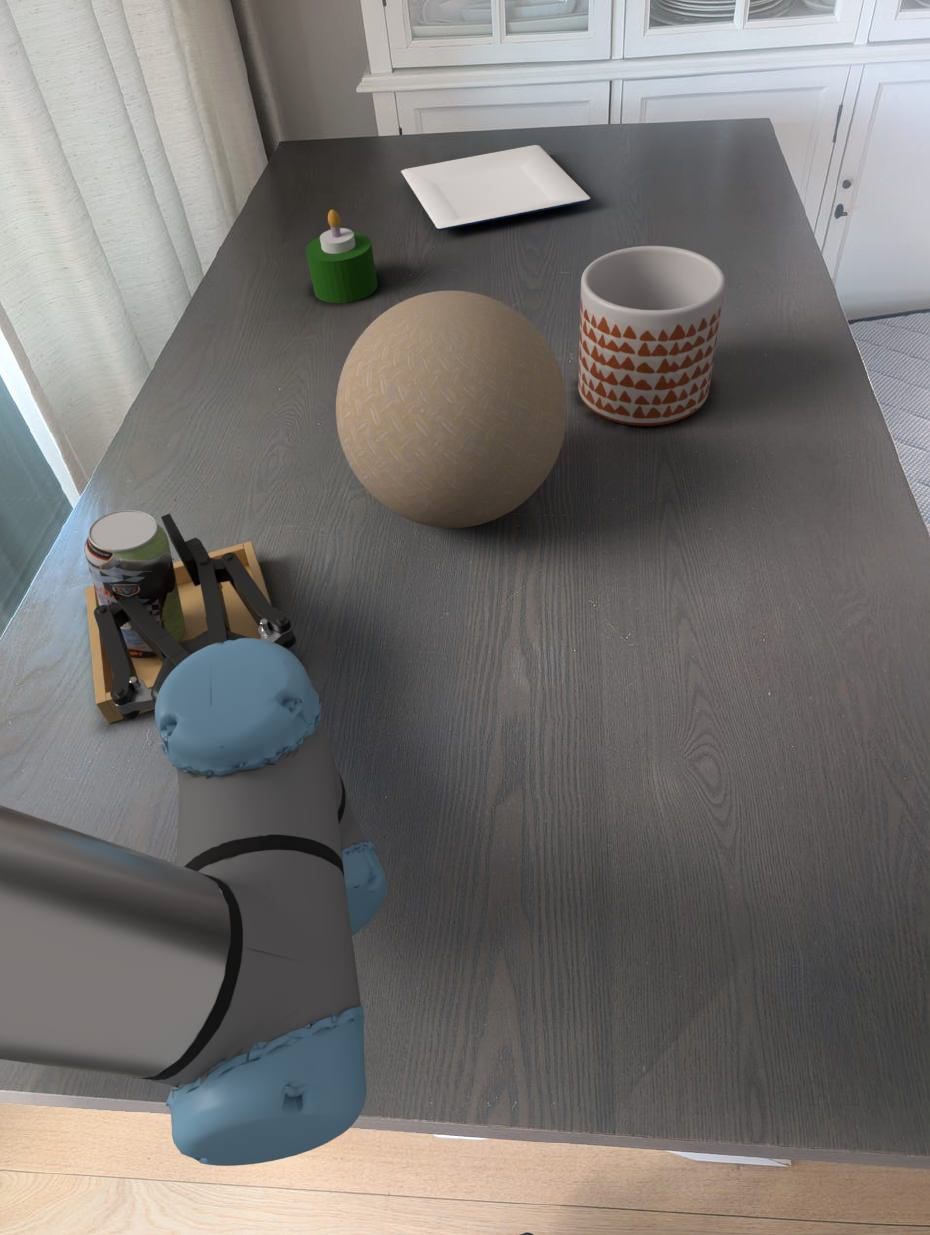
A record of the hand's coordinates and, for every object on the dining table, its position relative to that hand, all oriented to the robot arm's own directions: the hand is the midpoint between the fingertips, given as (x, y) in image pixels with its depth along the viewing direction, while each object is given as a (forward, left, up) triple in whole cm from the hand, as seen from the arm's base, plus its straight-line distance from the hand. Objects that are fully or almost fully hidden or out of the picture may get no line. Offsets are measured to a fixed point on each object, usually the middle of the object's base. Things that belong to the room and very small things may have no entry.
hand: (143, 538), depth 74 cm
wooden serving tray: (+1, -5, -7) cm, 9 cm away
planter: (+52, +11, -7) cm, 54 cm away
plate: (+56, +66, -7) cm, 87 cm away
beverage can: (-1, -5, -7) cm, 9 cm away
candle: (+29, +49, -7) cm, 57 cm away
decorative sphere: (+28, +2, -7) cm, 29 cm away
